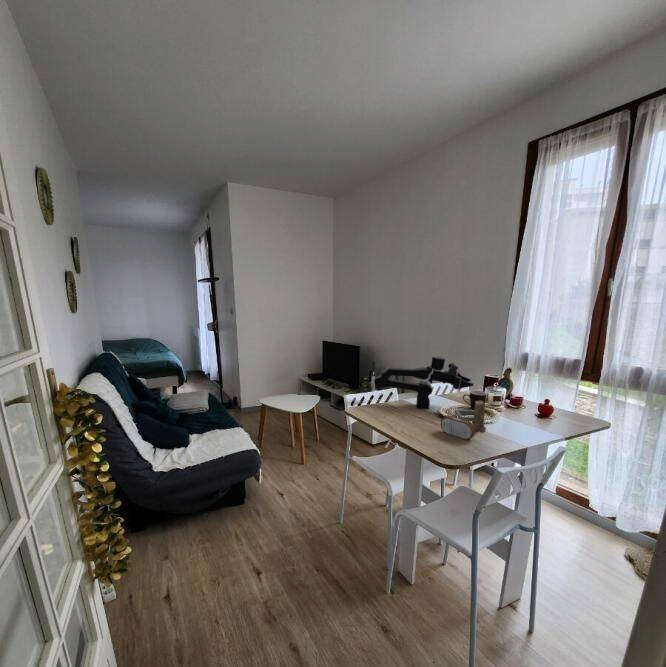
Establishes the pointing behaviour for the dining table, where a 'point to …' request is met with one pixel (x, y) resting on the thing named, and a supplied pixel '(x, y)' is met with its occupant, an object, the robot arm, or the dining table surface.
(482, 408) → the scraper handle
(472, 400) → the coffee mug
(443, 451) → the dining table surface
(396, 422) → the dining table surface
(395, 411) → the dining table surface
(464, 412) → the box
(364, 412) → the dining table surface
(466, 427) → the tin
